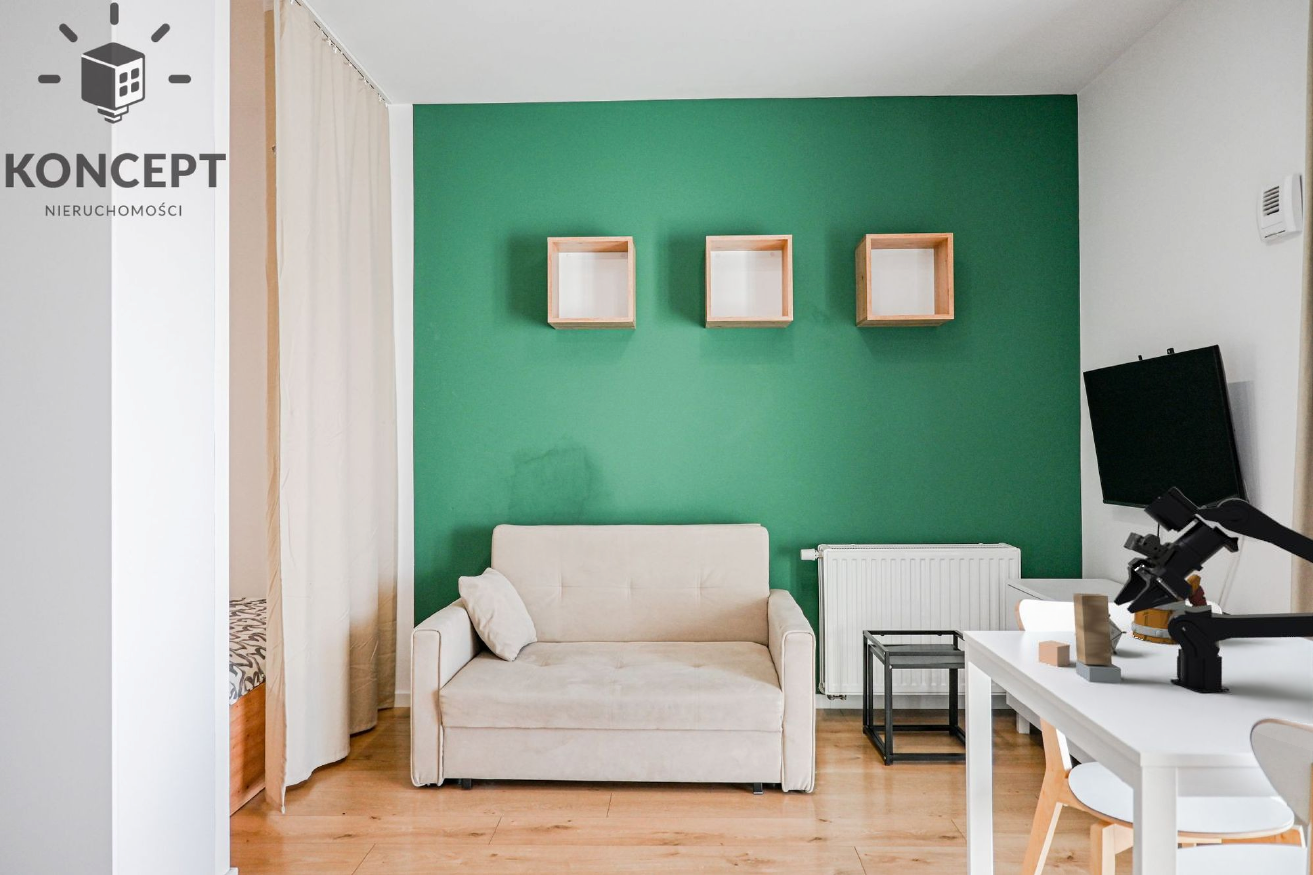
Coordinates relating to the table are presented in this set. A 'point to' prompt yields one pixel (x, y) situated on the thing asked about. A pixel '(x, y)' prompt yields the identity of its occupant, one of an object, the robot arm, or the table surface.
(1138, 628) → the mug
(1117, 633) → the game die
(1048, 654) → the clay block
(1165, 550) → the robot arm
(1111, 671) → the slate block
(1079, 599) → the walnut block
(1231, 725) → the table surface
